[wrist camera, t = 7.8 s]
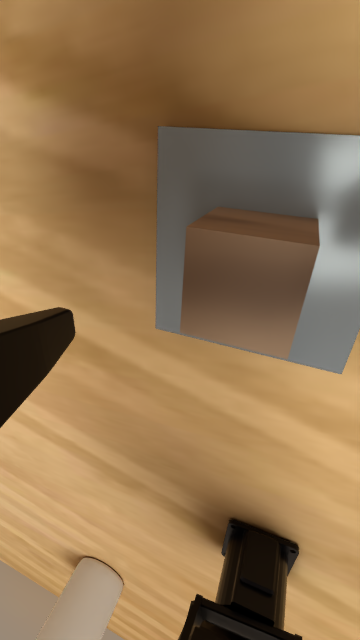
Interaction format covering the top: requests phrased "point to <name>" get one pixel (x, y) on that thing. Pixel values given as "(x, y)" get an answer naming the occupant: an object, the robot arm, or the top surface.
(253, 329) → the walnut block
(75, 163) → the top surface
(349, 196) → the plate
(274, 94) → the top surface
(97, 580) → the pill bottle
